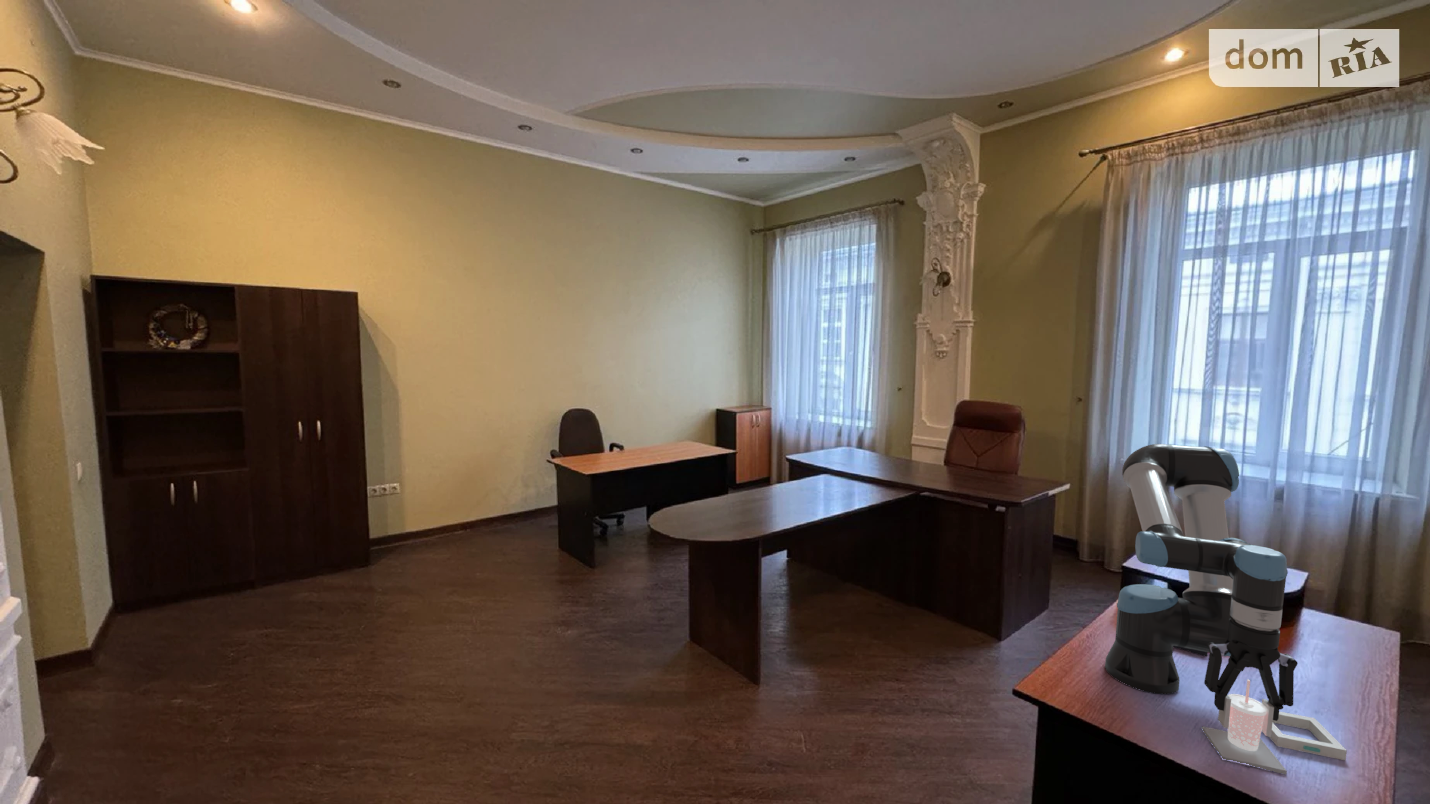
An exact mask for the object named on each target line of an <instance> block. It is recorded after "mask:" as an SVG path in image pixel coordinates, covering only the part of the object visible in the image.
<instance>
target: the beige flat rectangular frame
mask: <svg viewBox="0 0 1430 804" xmlns="http://www.w3.org/2000/svg"><path fill="white" fill-rule="evenodd" d="M1275 724H1278V725H1284V726H1289V727H1293V728H1297V729H1303V730H1308V731H1310V733H1311V734H1312V735H1314V737H1315V738H1316V739H1317V740H1314V739H1309V738H1305V737H1299V736H1295V735H1288V734H1283V732H1282V731H1281V730H1280V729H1279V728H1278V727H1277V726H1276V725H1275ZM1269 739H1270V740H1271V741H1272V742H1273V743H1274V745H1275V746H1276V747H1280V748H1283V749H1289V750H1293V751H1297V752H1303V753H1308V754H1312V755H1313V754H1314V755H1319V756H1322V757H1327V758H1331V759H1337V760H1342V761H1347V755H1348V754H1347V753H1348V750H1347V749H1346V748H1345V747H1344V745H1342V744H1341V743H1340V742H1339V741H1338V740H1337V739H1336V738H1335V737H1334V736H1333V735H1332V734H1331V733H1330V732H1329V731H1328V730H1327V729H1326V728H1325V727H1324V726H1323V725H1322V724H1321V723H1320V722H1319V721H1318V720H1317V719H1316V718H1315V717H1311V716H1305V715H1300V714H1295V713H1289V712H1284V711H1279V718H1278V720H1277V721H1275V720H1273V722H1272V732H1271V737H1269Z"/></svg>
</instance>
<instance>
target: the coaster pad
mask: <svg viewBox="0 0 1430 804" xmlns="http://www.w3.org/2000/svg"><path fill="white" fill-rule="evenodd" d="M1202 729H1203V731H1204V732H1203V731H1202V732H1203V734H1204V733H1205V734H1206V735H1205V734H1204V735H1205V736H1207V737H1208V738H1207V737H1206V738H1207V740H1208V739H1209V740H1210V741H1209V740H1208V741H1209V743H1210V742H1211V743H1212V744H1213V746H1214V747H1215V749H1216V750H1217V751H1218V752H1219V754H1220V755H1221V756H1222V758H1223V759H1226V760H1233V761H1237V762H1240V763H1246V764H1249V765H1252V766H1255V767H1260V768H1263V769H1266V770H1265V771H1268V770H1270V771H1269V772H1272V771H1274V772H1273V773H1278V774H1281V773H1282V774H1283V775H1286V776H1287V772H1288V770H1287V769H1286V768H1285V766H1283V764H1282V763H1281V761H1279V759H1278V758H1277V757H1276V755H1275V754H1274V753H1273V751H1272V750H1271V749H1270V748H1269V746H1267V744H1266V743H1265V742H1264V741H1263V739H1262V738H1261V737H1260V741H1259V746H1258V749H1257V751H1248V750H1245V749H1242V748H1239V747H1237V746H1235V745H1234V744H1232V743H1231V742H1230V741H1229V740H1228V730H1223V729H1217V728H1212V727H1207V726H1204V725H1203V726H1201V730H1202ZM1211 743H1210V744H1211ZM1212 744H1211V745H1212ZM1213 746H1212V747H1213ZM1214 747H1213V748H1214ZM1215 749H1214V750H1215ZM1216 750H1215V751H1216ZM1263 769H1262V770H1263ZM1282 774H1281V775H1282Z"/></svg>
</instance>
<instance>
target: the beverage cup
mask: <svg viewBox="0 0 1430 804" xmlns="http://www.w3.org/2000/svg"><path fill="white" fill-rule="evenodd" d="M1250 686H1251V680H1250V679H1248V678H1247V680H1246V689H1245V695H1242V694H1237V693H1228V694H1227V695H1228V696H1229V697H1230V698H1231V707H1230V717H1229V727H1228V728H1227V731H1228V740H1229V741H1230V742H1231V743H1232V744H1234V745H1235V746H1237V747H1239V748H1242V749H1245V750H1248V751H1257V749H1258V746H1259V741H1260V738H1261V736H1262V735H1261V734H1262V726H1263V720H1264V715H1266V713H1267V708H1266V706H1264V705H1263V704H1262V702H1261V701H1258V700H1256V699H1255V698H1252V697H1250V689H1251V687H1250Z"/></svg>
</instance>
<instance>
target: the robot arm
mask: <svg viewBox="0 0 1430 804" xmlns="http://www.w3.org/2000/svg"><path fill="white" fill-rule="evenodd" d="M1121 470H1122V472H1121V475H1122V479H1123V482H1124V484H1125V486H1127V487H1128V488H1129V489H1130V490H1131V496H1132V499H1133V502H1134V506H1135V509H1136V510H1135V511H1136V514H1137V516H1138V519H1139V523H1140V527H1141V530H1142V531H1139V532H1137V534H1136V536H1135V543H1134V544H1135V546H1134V547H1135V555H1136V556H1135V557H1136V559H1137V560H1138V562H1140V563H1142V564H1146V565H1150V566H1156V567H1158V568H1168V569H1174V570H1183V571H1187V572H1188V583H1189V587H1188V588H1186V589H1185V590H1184V591H1183V592H1182V597H1178V595H1177V593H1176V592H1175V591H1173V590H1172V589H1170V588H1168V587H1162V586H1160V585H1156V584H1144V583H1141V584H1140V583H1139V584H1138V583H1137V584H1130V585H1126V586H1124V587H1123V588H1121V590H1120V591H1119V594H1118V599H1117V603H1116V608H1117V611H1116V612H1117V613H1116V615H1117V616H1116V624H1115V625H1116V627H1115V638H1114V639H1115V640H1114V642H1113V644H1112V645H1111V647H1110V649H1109V651H1108V653H1107V655H1106V656H1105V663H1104V664H1105V665H1104V668H1106V669H1105V670H1107V671H1106V672H1107V673H1108V675H1110V676H1111V675H1112V676H1113V677H1114V678H1113V677H1112V676H1111V677H1112V678H1113V679H1115V678H1116V679H1117V680H1116V679H1115V680H1116V681H1118V680H1119V681H1118V682H1120V681H1121V682H1123V683H1125V684H1127V685H1126V686H1128V685H1130V686H1131V688H1133V687H1134V688H1133V689H1135V688H1137V689H1136V690H1138V689H1140V690H1139V691H1141V690H1142V691H1143V692H1145V693H1149V692H1151V694H1155V695H1171V694H1175V693H1177V692H1178V691H1179V688H1180V682H1181V681H1180V676H1179V673H1178V669H1177V666H1176V664H1175V659H1174V657H1173V654H1174V653H1173V652H1174V647H1173V646H1180V647H1184V648H1189V649H1194V650H1199V651H1205V652H1208V653H1209V655H1208V662H1207V667H1206V672H1205V676H1204V682H1203V684H1204V685H1205V687H1207V689H1208V690H1209V691H1210V692H1211V693H1214V702H1213V704H1214V707H1215V708H1217V710H1218V714H1217V715H1218V716H1217V721H1218V722H1219V723H1220V725H1222V727H1223V728H1224V729H1228V727H1229V717H1230V707H1231V698H1230V697H1229V696H1228V695H1229V694H1230V693H1229V692H1230V691H1231V689H1232V688H1233V685H1234V684H1235V682H1236V681H1237V679H1238V677H1239V676H1240V674H1241V672H1243V671H1244V670H1245V669H1246V668H1253V669H1256V670H1258V672H1259V676H1260V678H1261V682H1262V685H1263V689H1264V691H1265V693H1266V697H1267V699H1266V698H1261V703H1262V704H1263V705H1264V706H1266V708H1267V713H1266V715H1264V720H1263V726H1262V731H1261V733H1263V735H1264V736H1266V737H1268V738H1270V737H1271V732H1272V722H1273V720H1275V721H1277V720H1278V718H1279V712H1280V711H1281V710H1283V709H1284V706H1287V707H1293V706H1294V687H1295V686H1294V682H1295V681H1294V677H1295V676H1294V674H1295V673H1294V671H1295V669H1296V667H1298V664H1299V663H1298V661H1297V660H1296V659H1294V658H1293V656H1291V655H1290V654H1288V653H1281V652H1280V651H1279V645H1280V638H1281V630H1280V628H1281V625H1282V618H1283V607H1284V598H1285V589H1286V582H1287V576H1288V573H1289V571H1288V564H1287V562H1288V559H1287V557H1286V555H1284V553H1282V552H1280V551H1278V550H1275V549H1273V548H1269V547H1265V546H1261V545H1254V544H1253V545H1252V544H1251V543H1248V542H1246V541H1244V540H1243V539H1240V538H1236V537H1230V534H1229V529H1228V520H1227V512H1226V511H1227V510H1226V504H1225V501H1226V500H1229V498H1230V497H1232V492H1235V491H1237V490H1238V488H1239V484H1240V479H1239V477H1240V470H1239V467H1238V464H1237V461H1236V459H1235V457H1234V455H1233V454H1232V453H1231V452H1229V450H1227V449H1224V448H1222V447H1221V448H1218V447H1212V446H1205V445H1204V446H1194V445H1179V444H1177V445H1176V444H1165V443H1155V444H1154V443H1153V444H1148V445H1145V446H1142V447H1140V448H1138V449H1136V450H1135V451H1133V452H1132V453H1131V454H1130V455H1128V457H1126V460H1125V461H1124V463H1123V465H1122V469H1121ZM1167 487H1172V488H1173V492H1174V493H1173V494H1174V495H1175V496H1176V497H1177V498H1179V499H1180V500H1182V501H1181V502H1182V503H1181V504H1182V514H1183V525H1184V533H1183V529H1182V527H1181V524H1180V521H1179V519H1178V516H1177V514H1176V510H1175V508H1174V505H1173V502H1172V499H1171V497H1170V494H1169V491H1168V488H1167ZM1223 657H1228V659H1227V664H1226V666H1225V667H1224V668H1223V671H1222V673H1220V672H1221V668H1222V663H1223ZM1276 661H1278V663H1279V664H1278V690H1277V686H1276V683H1275V680H1274V676H1273V671H1272V668H1271V665H1272V664H1273V663H1275V662H1276ZM1220 674H1221V675H1220ZM1121 682H1120V683H1121ZM1123 683H1122V684H1123ZM1125 684H1124V685H1125ZM1130 686H1129V687H1130Z"/></svg>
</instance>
